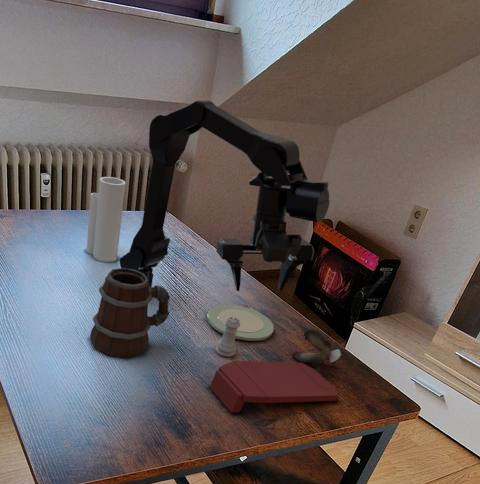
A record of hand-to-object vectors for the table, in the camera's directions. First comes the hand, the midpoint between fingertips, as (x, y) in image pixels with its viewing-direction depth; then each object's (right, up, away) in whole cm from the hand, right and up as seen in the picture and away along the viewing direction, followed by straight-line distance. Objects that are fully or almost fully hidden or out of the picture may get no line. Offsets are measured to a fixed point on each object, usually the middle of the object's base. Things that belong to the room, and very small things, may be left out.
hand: (258, 290), depth 112 cm
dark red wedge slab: (+2, -22, -5) cm, 22 cm away
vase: (-37, +19, +36) cm, 55 cm away
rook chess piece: (-7, -13, +4) cm, 15 cm away
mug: (-27, -11, +1) cm, 30 cm away
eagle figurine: (+14, -14, +7) cm, 21 cm away
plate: (-2, -5, +15) cm, 16 cm away
